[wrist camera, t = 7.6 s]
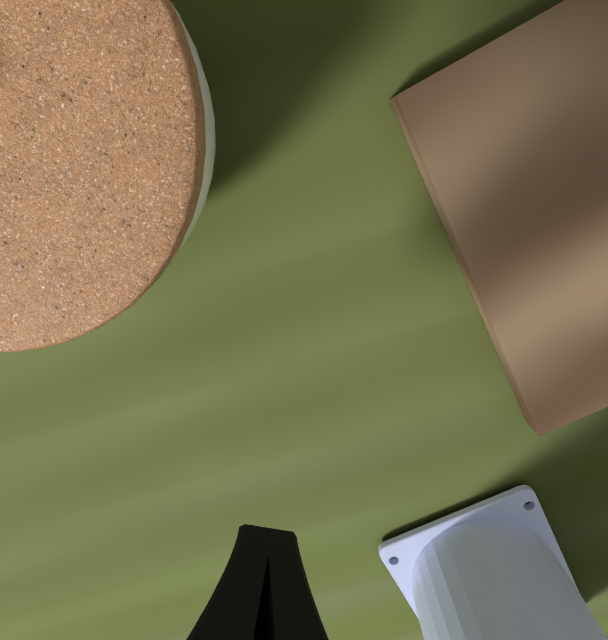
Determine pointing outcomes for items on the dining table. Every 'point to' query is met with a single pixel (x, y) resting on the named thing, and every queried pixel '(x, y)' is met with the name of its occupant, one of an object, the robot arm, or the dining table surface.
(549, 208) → the board
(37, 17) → the lidded jar
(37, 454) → the dining table surface
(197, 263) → the dining table surface
